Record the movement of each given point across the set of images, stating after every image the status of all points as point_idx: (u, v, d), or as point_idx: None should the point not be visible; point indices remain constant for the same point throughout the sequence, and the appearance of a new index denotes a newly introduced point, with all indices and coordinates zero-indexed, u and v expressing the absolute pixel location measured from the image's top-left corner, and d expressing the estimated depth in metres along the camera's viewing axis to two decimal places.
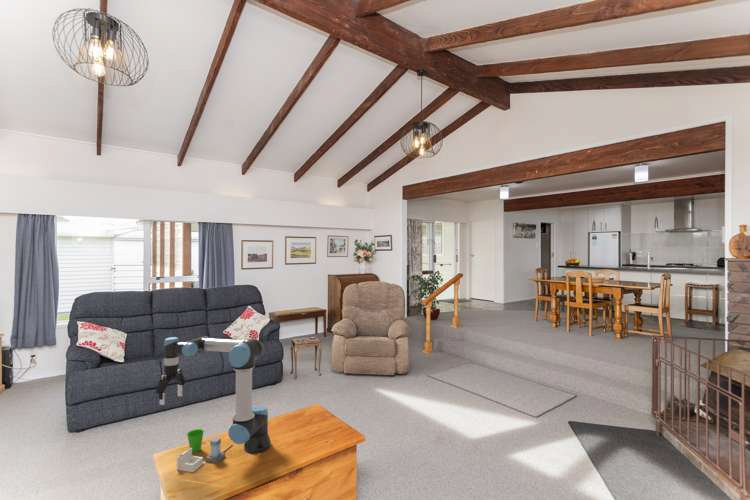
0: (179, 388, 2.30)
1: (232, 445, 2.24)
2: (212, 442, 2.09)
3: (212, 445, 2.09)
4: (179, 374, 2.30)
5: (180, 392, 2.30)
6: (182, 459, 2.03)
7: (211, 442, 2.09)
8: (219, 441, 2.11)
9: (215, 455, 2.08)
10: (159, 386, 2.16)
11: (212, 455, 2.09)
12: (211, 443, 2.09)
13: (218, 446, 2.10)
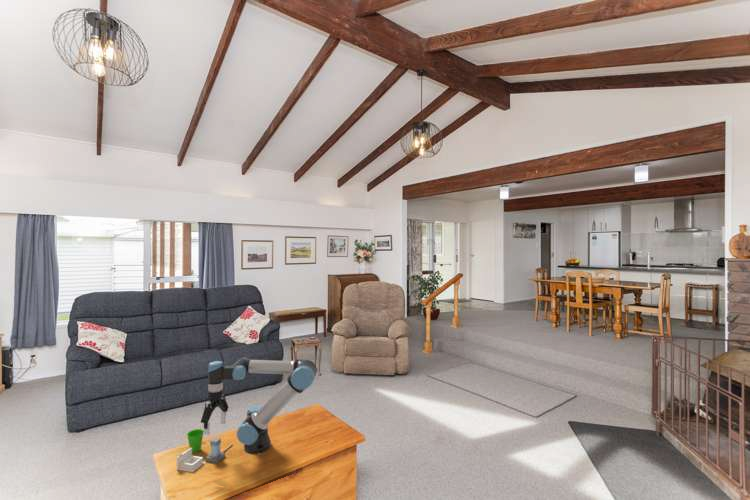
0: (222, 415, 2.17)
1: (232, 445, 2.24)
2: (212, 442, 2.09)
3: (212, 445, 2.09)
4: (222, 400, 2.17)
5: (223, 419, 2.17)
6: (182, 459, 2.03)
7: (211, 442, 2.09)
8: (219, 441, 2.11)
9: (215, 455, 2.08)
10: (204, 415, 2.02)
11: (212, 455, 2.09)
12: (211, 443, 2.09)
13: (218, 446, 2.10)
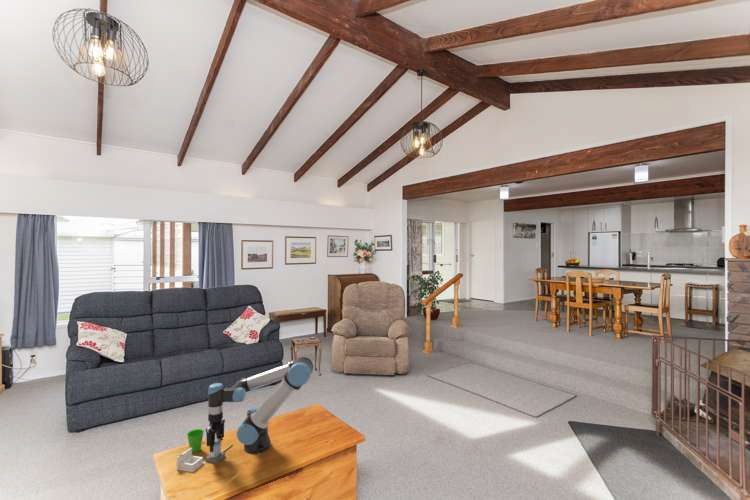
0: None
1: (232, 445, 2.24)
2: None
3: None
4: (221, 425, 2.15)
5: None
6: (182, 459, 2.03)
7: None
8: (219, 441, 2.11)
9: (215, 455, 2.08)
10: (208, 439, 2.05)
11: None
12: None
13: (218, 446, 2.10)
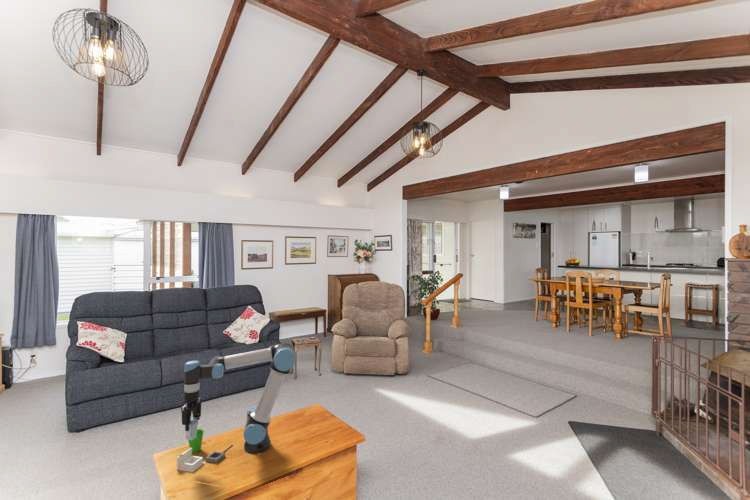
0: None
1: (232, 445, 2.24)
2: None
3: None
4: (198, 404, 2.08)
5: None
6: (182, 459, 2.03)
7: None
8: (195, 420, 2.04)
9: (191, 434, 2.02)
10: (183, 418, 1.98)
11: None
12: None
13: (194, 426, 2.03)
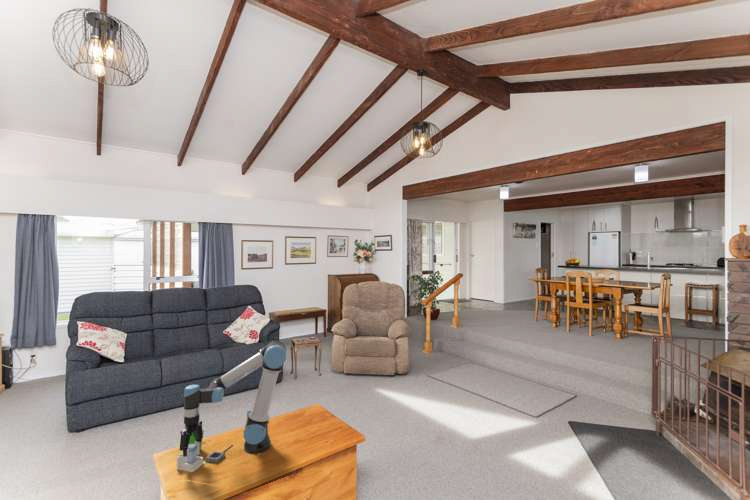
0: None
1: (232, 445, 2.24)
2: (188, 448, 2.02)
3: None
4: (198, 427, 2.09)
5: (197, 450, 2.07)
6: (182, 459, 2.03)
7: None
8: (195, 447, 2.04)
9: (191, 462, 2.02)
10: (182, 443, 1.97)
11: (188, 462, 2.02)
12: None
13: (194, 453, 2.03)
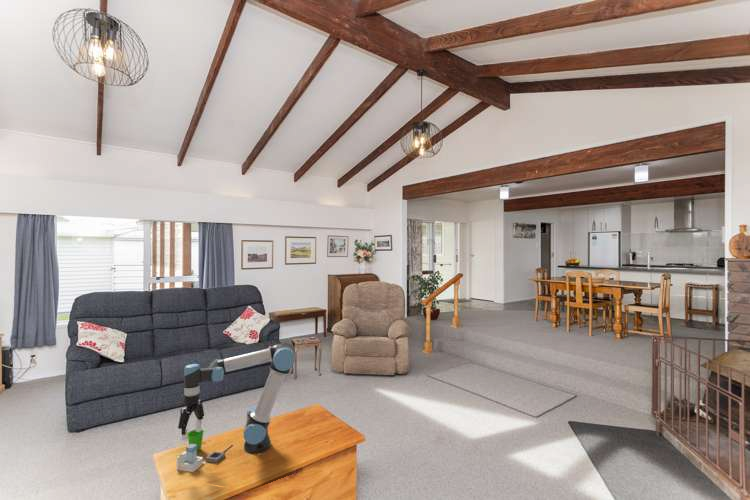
0: (197, 423, 2.08)
1: (232, 445, 2.24)
2: (188, 448, 2.02)
3: (188, 451, 2.02)
4: (199, 405, 2.09)
5: (198, 427, 2.08)
6: (182, 459, 2.03)
7: (187, 448, 2.02)
8: (195, 447, 2.04)
9: (191, 462, 2.02)
10: (181, 421, 1.97)
11: (188, 462, 2.02)
12: (187, 449, 2.02)
13: (194, 453, 2.03)
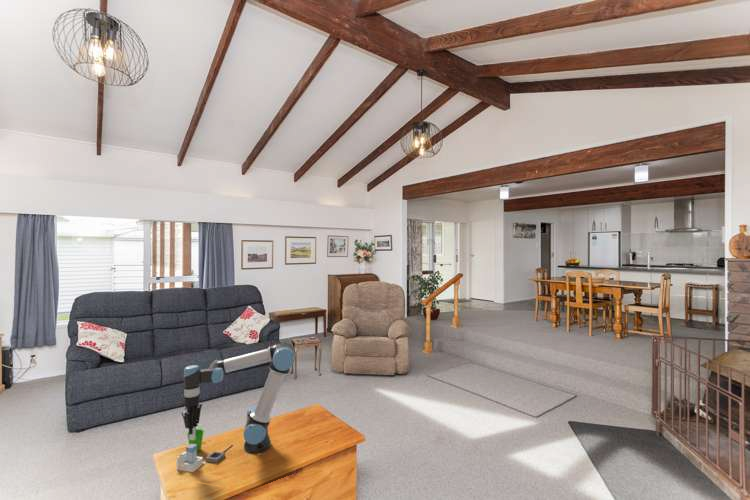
0: None
1: (232, 445, 2.24)
2: (188, 448, 2.02)
3: (188, 451, 2.02)
4: (197, 409, 2.08)
5: None
6: (182, 459, 2.03)
7: (187, 448, 2.02)
8: (195, 447, 2.04)
9: (191, 462, 2.02)
10: (186, 422, 2.00)
11: (188, 462, 2.02)
12: (187, 449, 2.02)
13: (194, 453, 2.03)
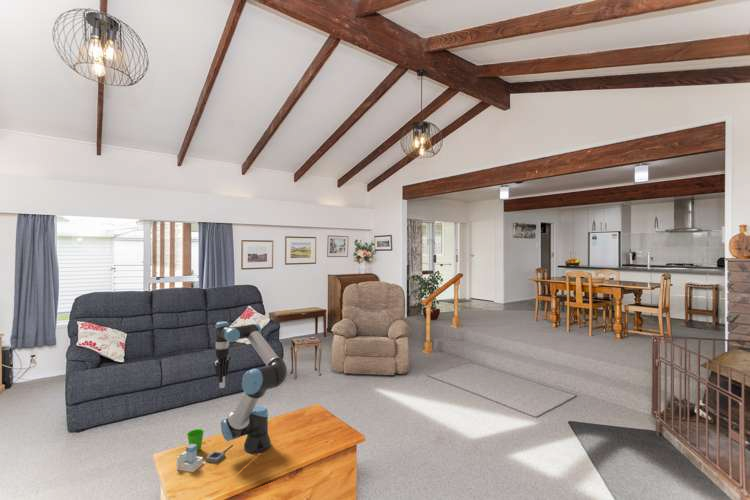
0: None
1: (232, 445, 2.24)
2: (188, 448, 2.02)
3: (188, 451, 2.02)
4: None
5: None
6: (182, 459, 2.03)
7: (187, 448, 2.02)
8: (195, 447, 2.04)
9: (191, 462, 2.02)
10: (217, 371, 2.23)
11: (188, 462, 2.02)
12: (187, 449, 2.02)
13: (194, 453, 2.03)
